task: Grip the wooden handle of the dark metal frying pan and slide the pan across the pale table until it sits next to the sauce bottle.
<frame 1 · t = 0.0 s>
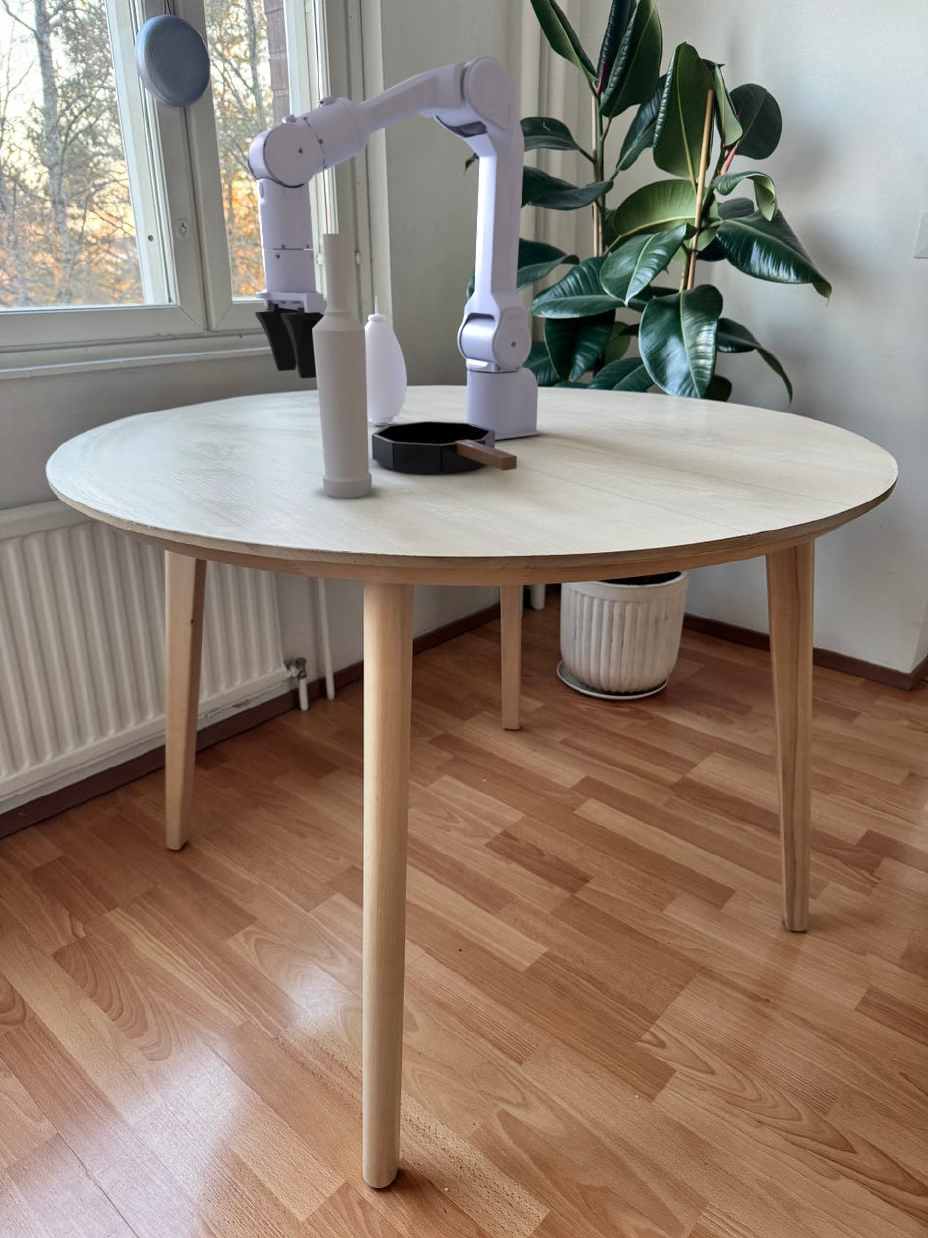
hand: (297, 373, 100), 10 cm above the table, tool pointing down, fingers open, 7 cm apart
bottle: (348, 493, 89), on the table
sauce bottle: (381, 425, 124), on the table
pan: (434, 460, 102), on the table
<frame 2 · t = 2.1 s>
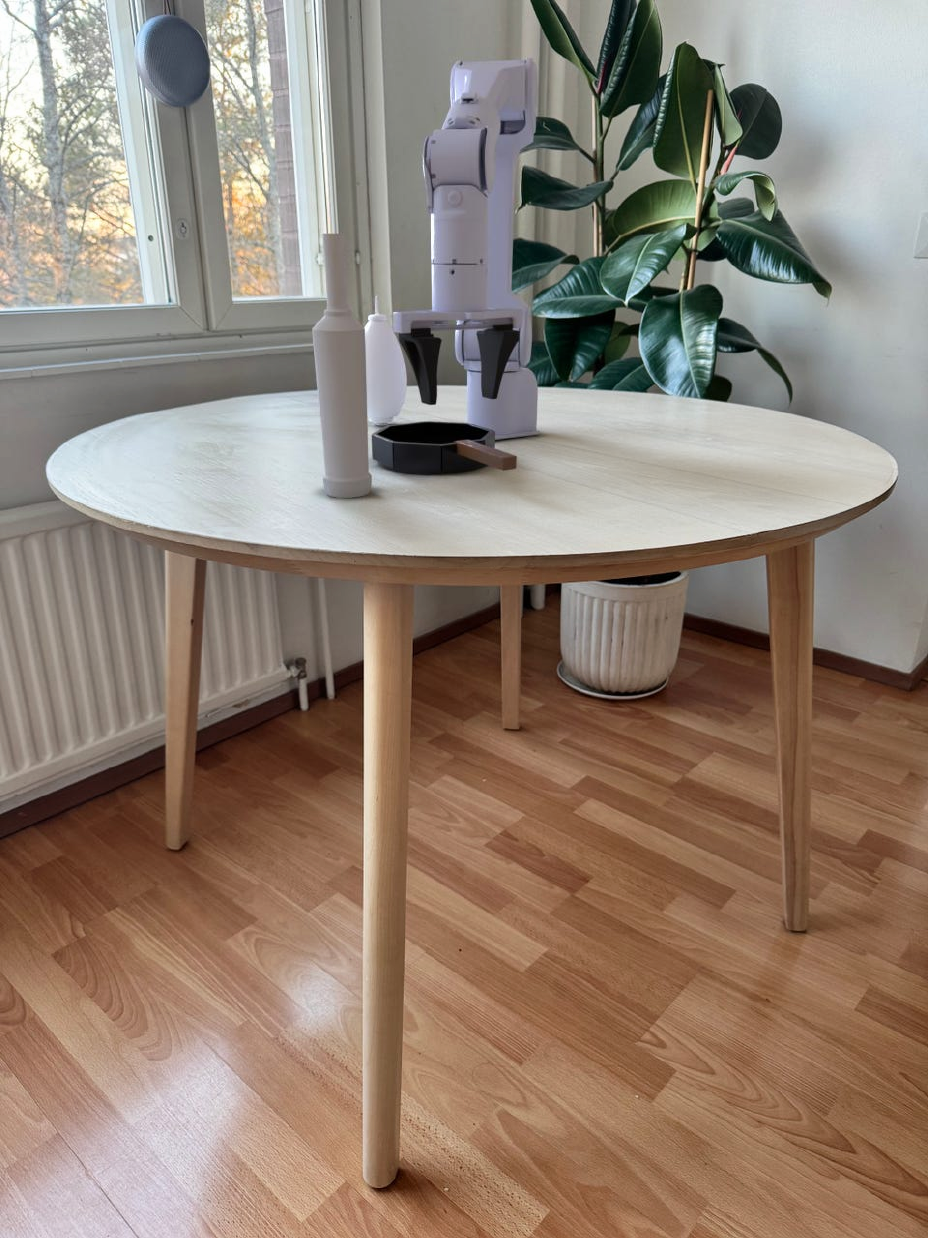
hand: (459, 400, 90), 9 cm above the table, tool pointing down, fingers open, 7 cm apart
nothing on the table moved.
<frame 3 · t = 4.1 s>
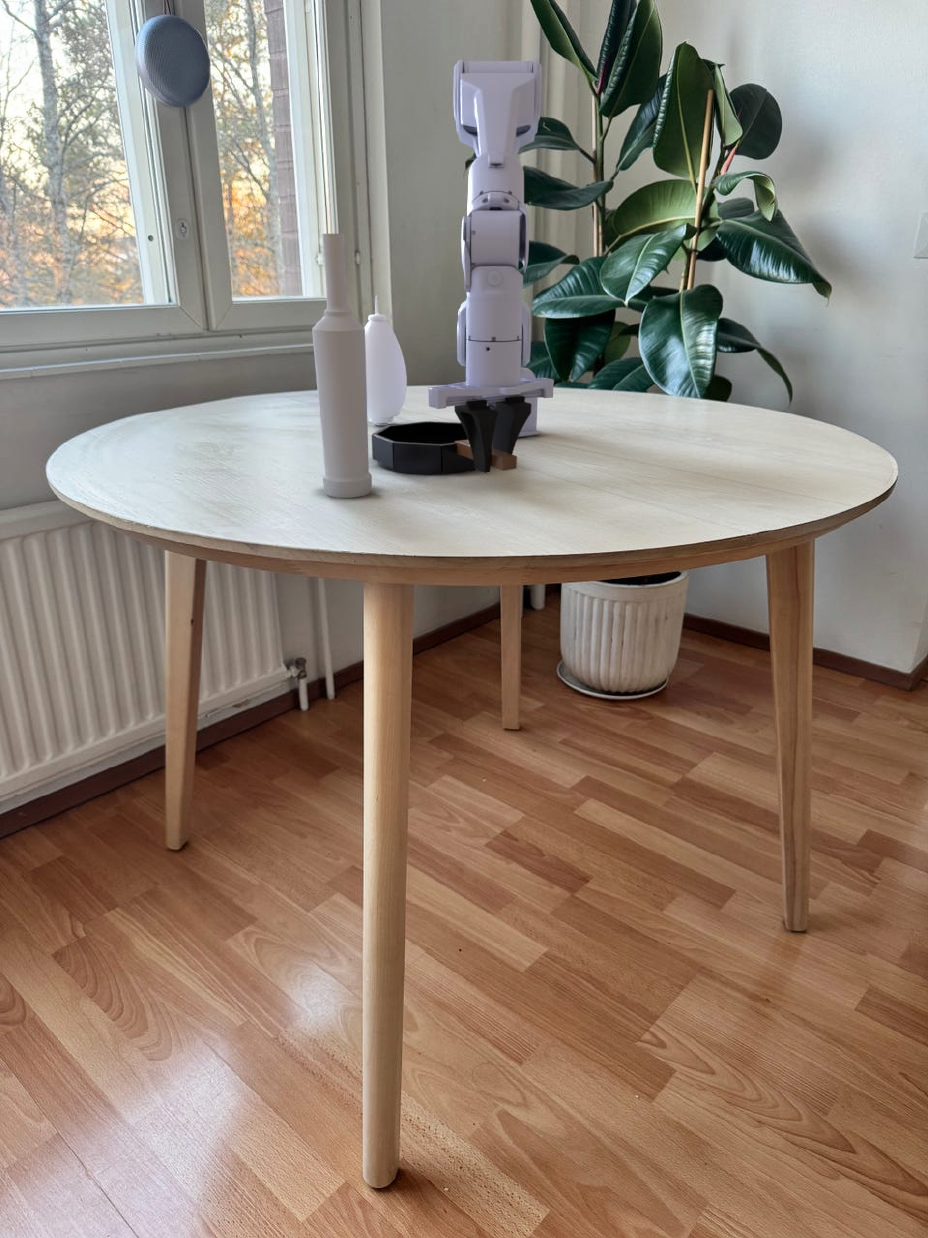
hand: (491, 469, 91), 2 cm above the table, tool pointing down, fingers closed on pan, 2 cm apart
pan: (434, 460, 102), on the table, touching gripper
everything else where it was.
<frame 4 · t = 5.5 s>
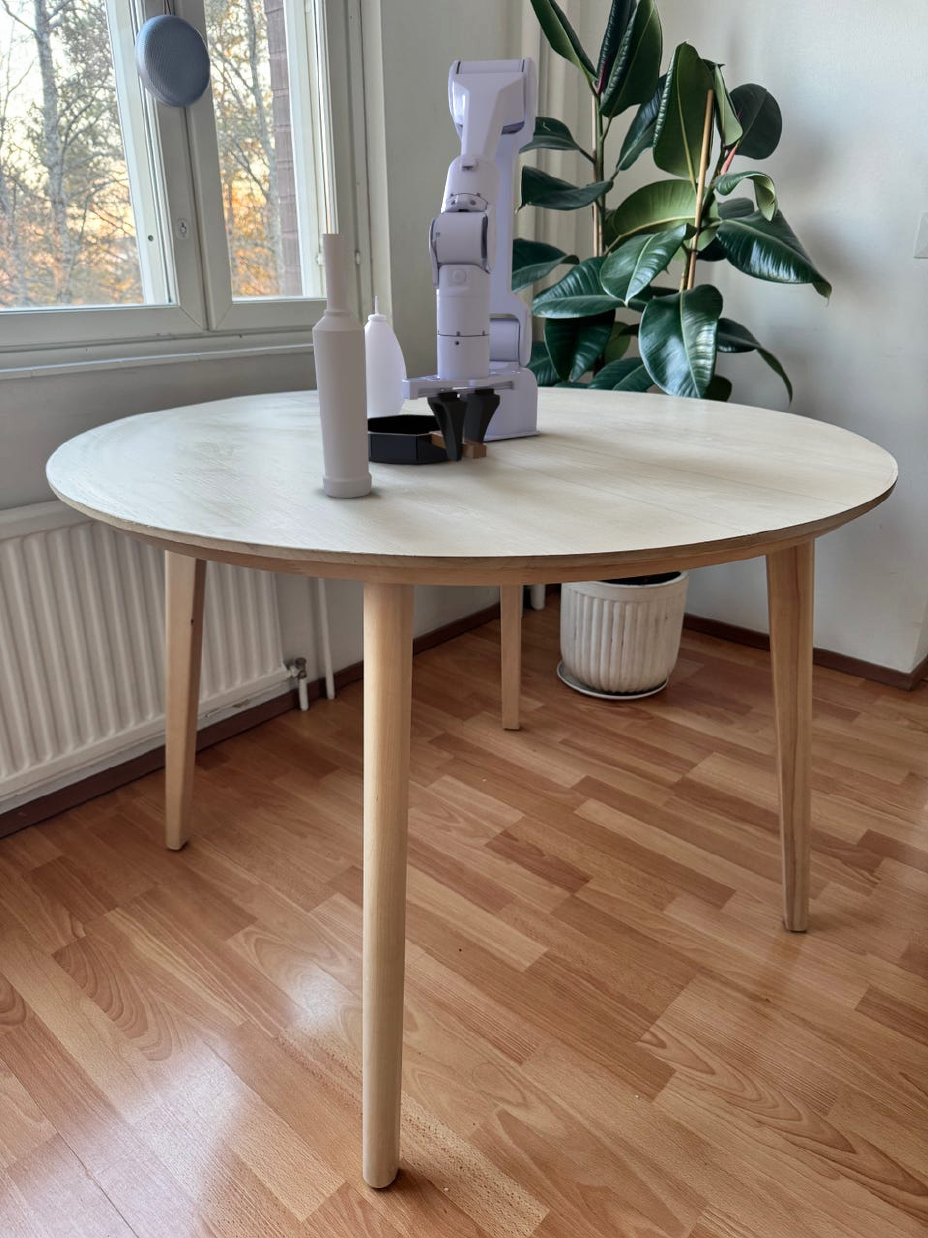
hand: (463, 458, 96), 2 cm above the table, tool pointing down, fingers closed on pan, 2 cm apart
pan: (411, 451, 107), on the table, touching gripper
everything else where it was.
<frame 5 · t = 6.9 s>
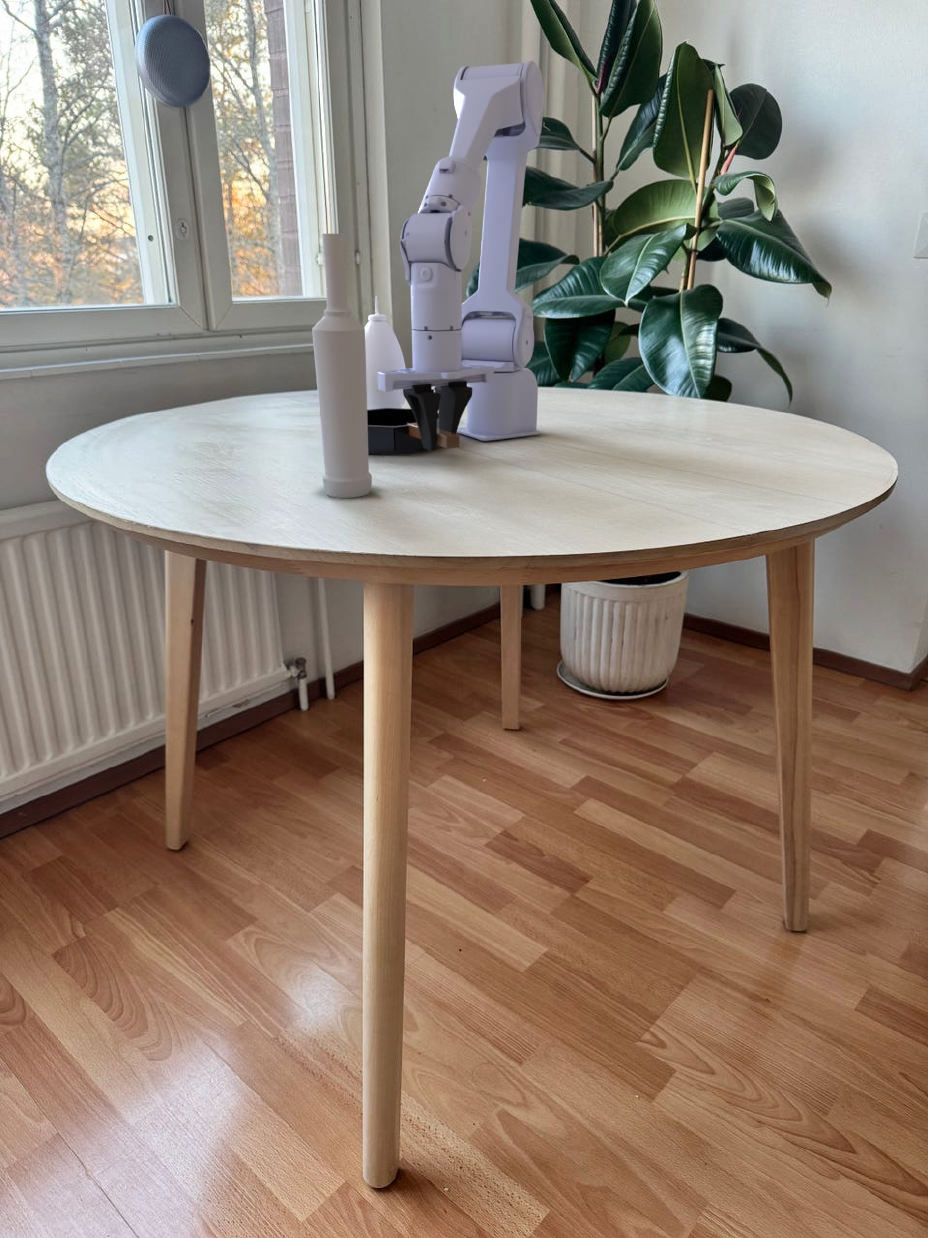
hand: (438, 447, 100), 2 cm above the table, tool pointing down, fingers closed on pan, 2 cm apart
pan: (391, 443, 111), on the table, touching gripper
everything else where it was.
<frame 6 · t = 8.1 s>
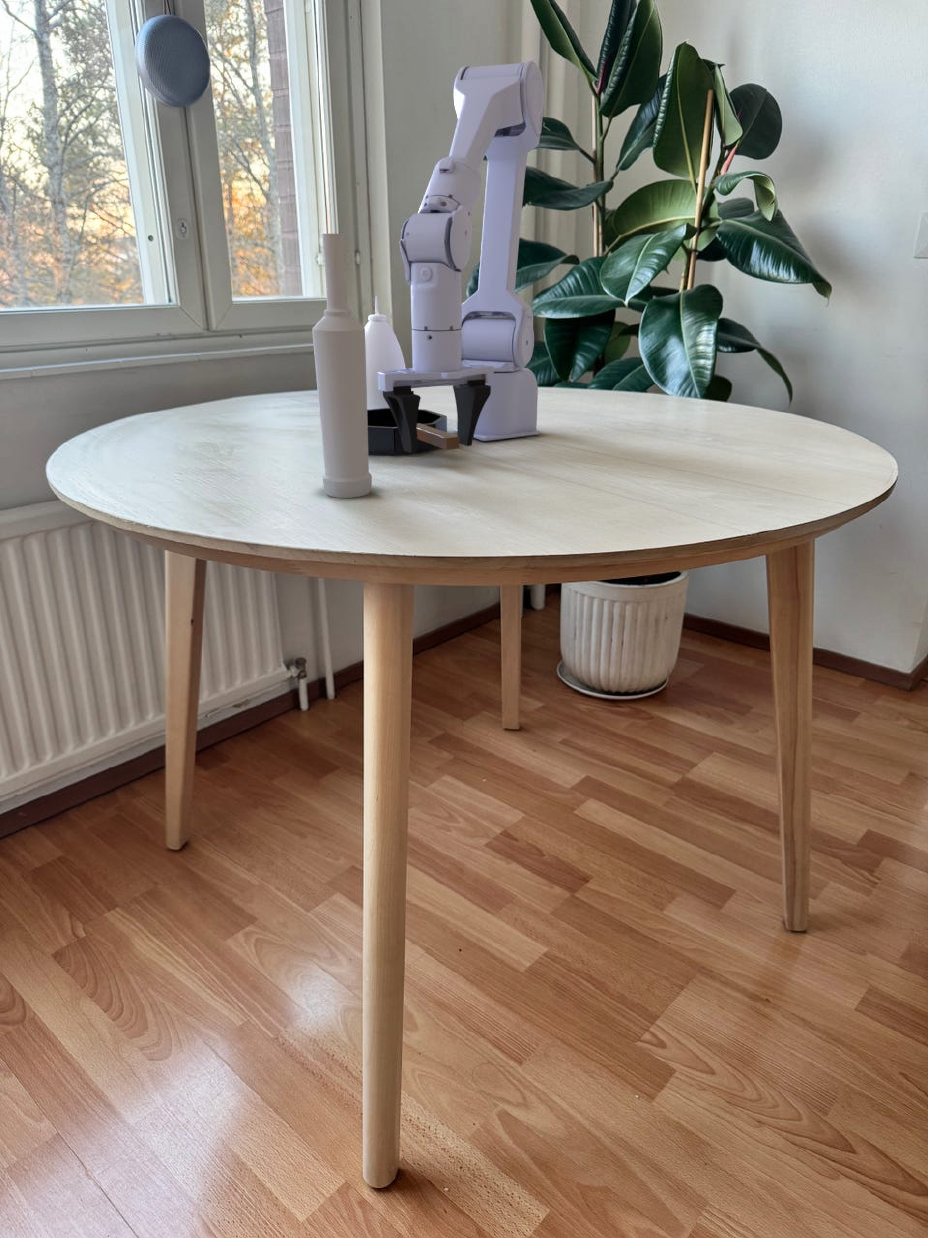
hand: (438, 447, 100), 2 cm above the table, tool pointing down, fingers open, 7 cm apart
pan: (391, 443, 111), on the table
everything else where it was.
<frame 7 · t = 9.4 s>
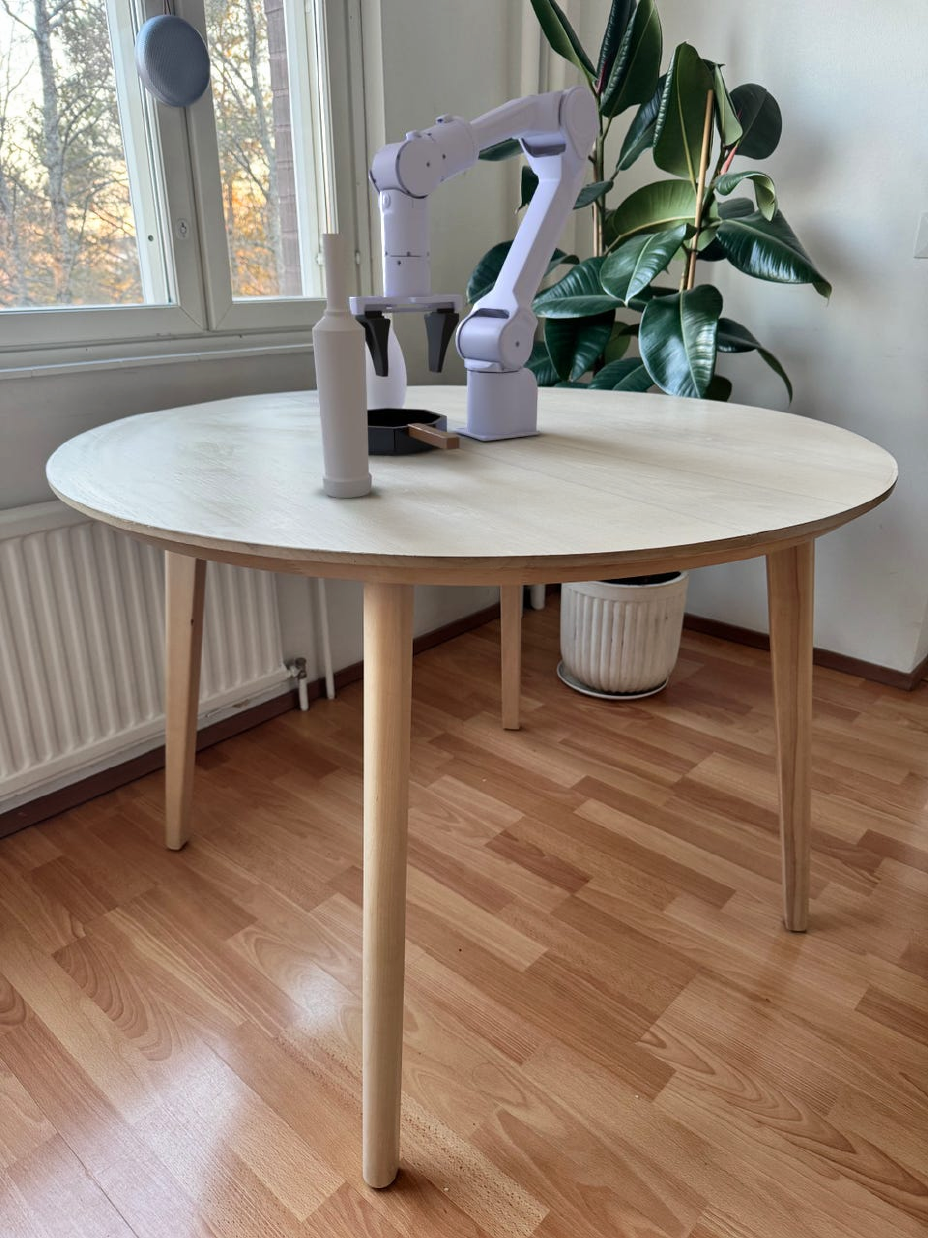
hand: (409, 373, 105), 9 cm above the table, tool pointing down, fingers open, 7 cm apart
nothing on the table moved.
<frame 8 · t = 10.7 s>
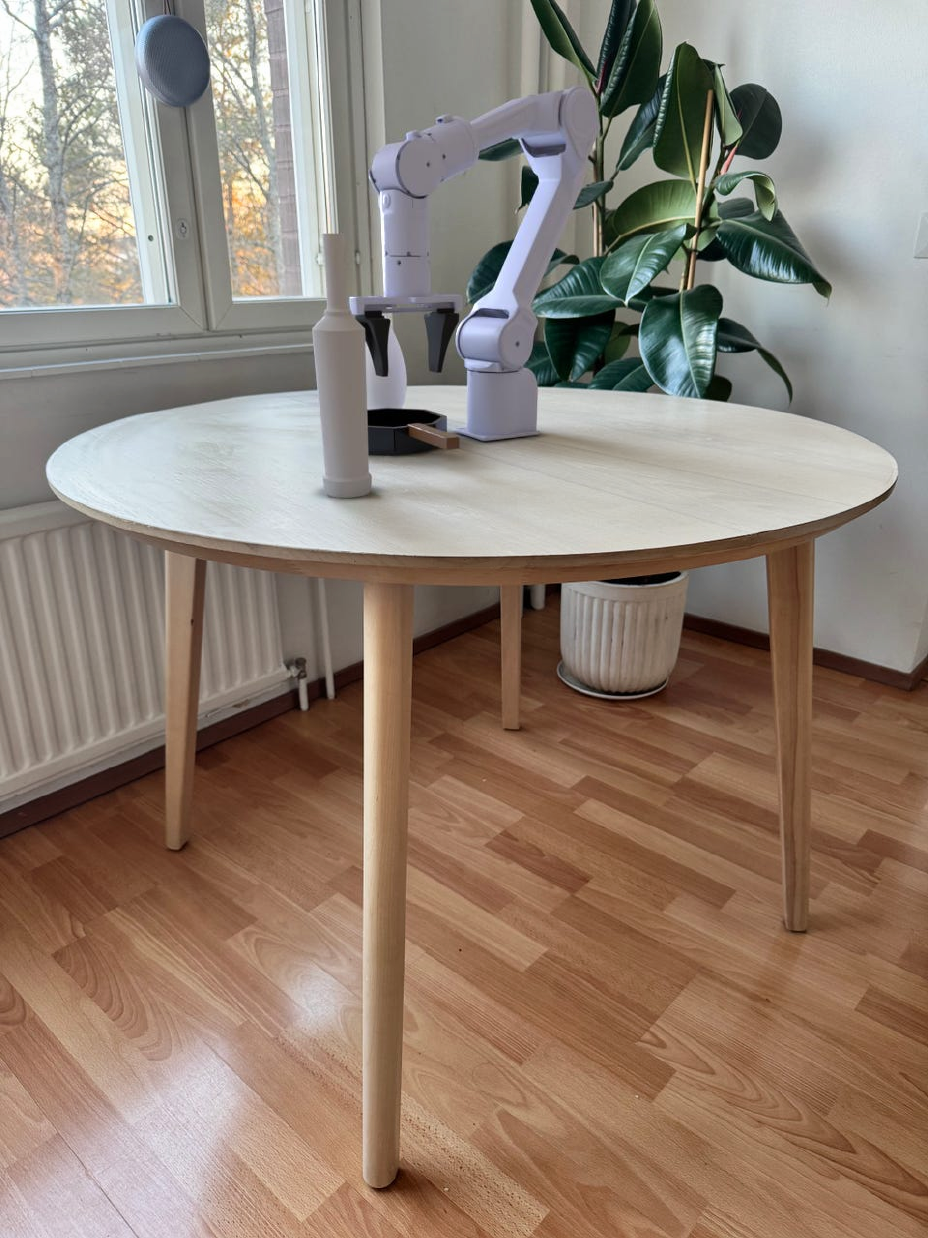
hand: (409, 373, 105), 9 cm above the table, tool pointing down, fingers open, 7 cm apart
nothing on the table moved.
at the end: pan 14.1 cm from the sauce bottle (horizontally); pan moved 11.8 cm from its start; pan tilted 0° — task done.
